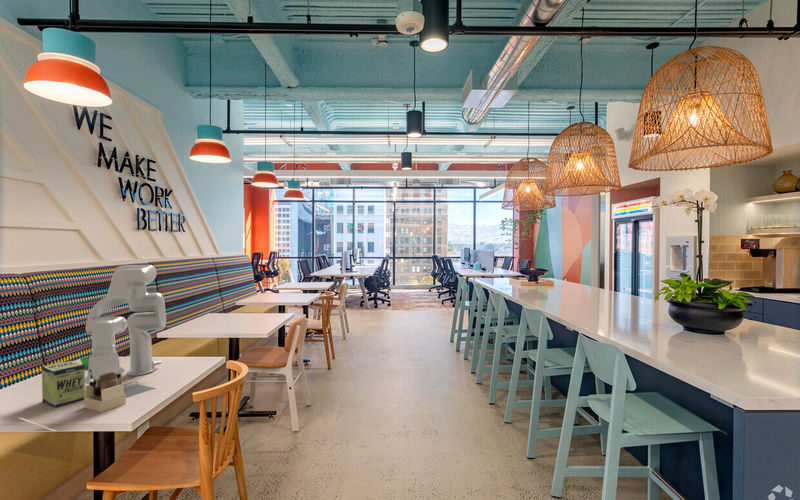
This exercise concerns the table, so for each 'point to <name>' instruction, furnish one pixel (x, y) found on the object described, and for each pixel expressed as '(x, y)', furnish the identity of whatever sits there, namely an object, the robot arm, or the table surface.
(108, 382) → the walnut block
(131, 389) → the rubber mat
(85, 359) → the fruit basket
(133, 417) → the table surface
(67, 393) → the protein box
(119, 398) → the beige open box
